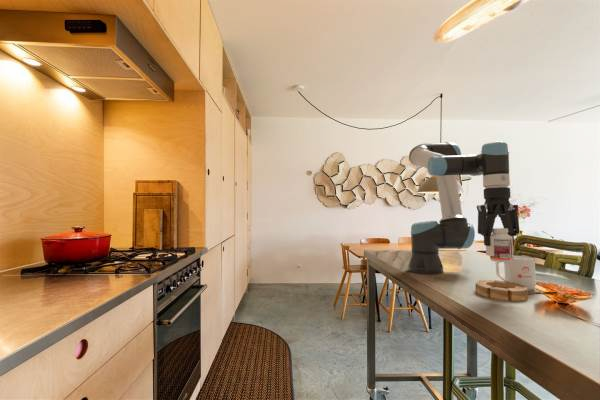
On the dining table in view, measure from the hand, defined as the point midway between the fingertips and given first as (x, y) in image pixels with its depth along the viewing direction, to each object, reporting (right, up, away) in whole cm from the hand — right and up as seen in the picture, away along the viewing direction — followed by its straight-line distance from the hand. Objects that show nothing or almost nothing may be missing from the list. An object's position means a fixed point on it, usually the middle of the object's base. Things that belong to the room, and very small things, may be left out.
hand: (499, 255), depth 95 cm
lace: (+14, -13, 0) cm, 19 cm away
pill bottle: (0, -2, -1) cm, 2 cm away
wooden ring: (0, -13, 0) cm, 13 cm away
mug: (+11, -14, +7) cm, 18 cm away
